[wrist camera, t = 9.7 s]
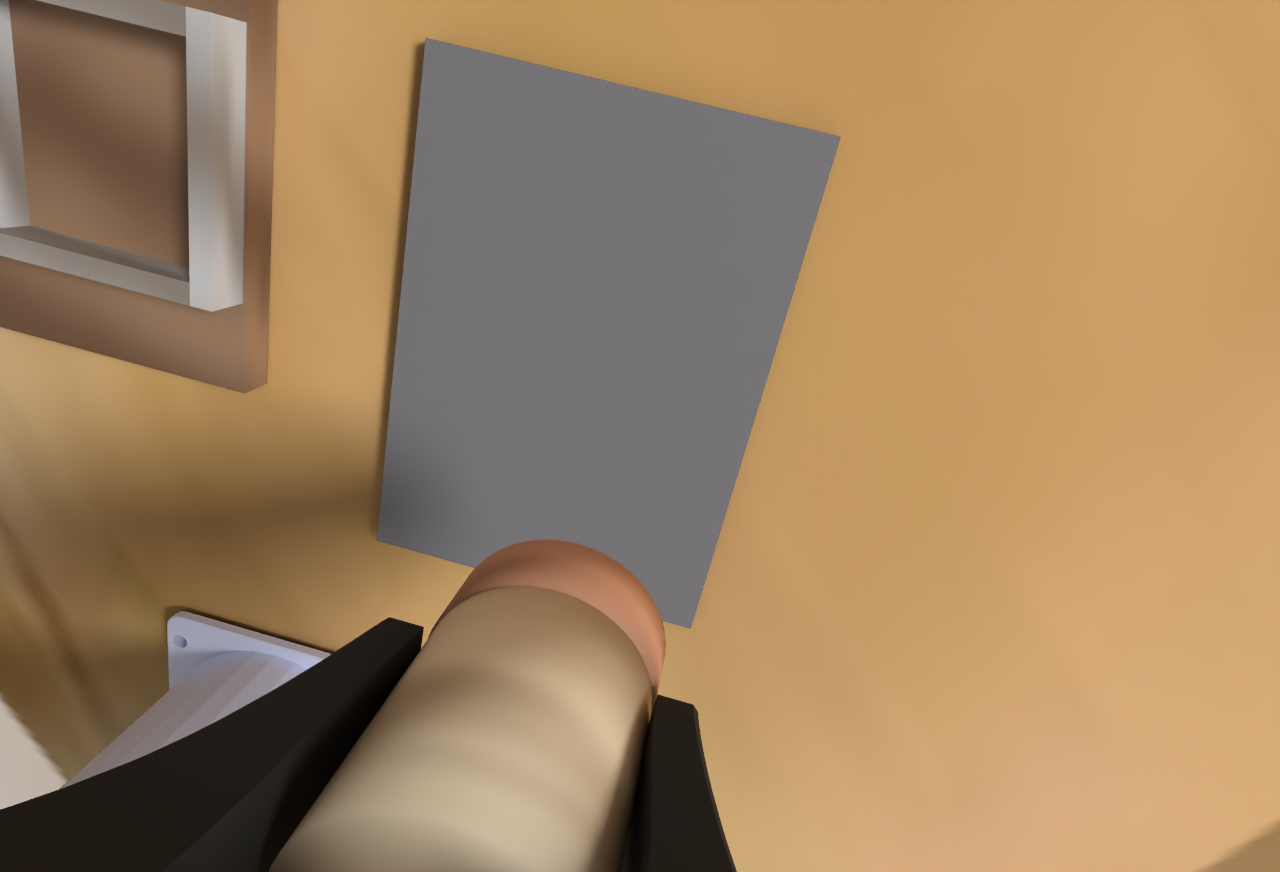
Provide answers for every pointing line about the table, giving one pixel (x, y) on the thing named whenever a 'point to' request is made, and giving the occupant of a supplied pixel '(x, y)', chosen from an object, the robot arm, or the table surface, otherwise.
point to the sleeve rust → (503, 729)
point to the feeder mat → (587, 315)
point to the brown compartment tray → (140, 180)
